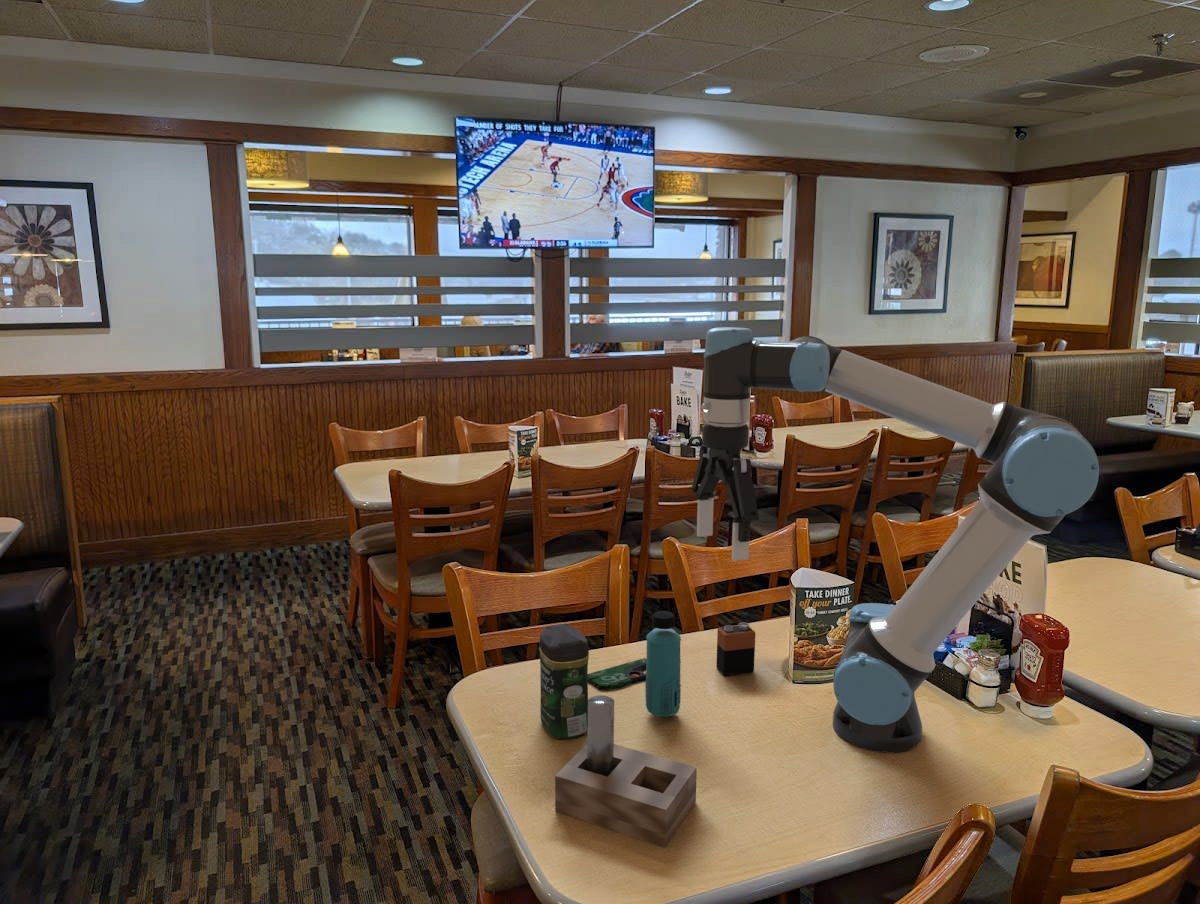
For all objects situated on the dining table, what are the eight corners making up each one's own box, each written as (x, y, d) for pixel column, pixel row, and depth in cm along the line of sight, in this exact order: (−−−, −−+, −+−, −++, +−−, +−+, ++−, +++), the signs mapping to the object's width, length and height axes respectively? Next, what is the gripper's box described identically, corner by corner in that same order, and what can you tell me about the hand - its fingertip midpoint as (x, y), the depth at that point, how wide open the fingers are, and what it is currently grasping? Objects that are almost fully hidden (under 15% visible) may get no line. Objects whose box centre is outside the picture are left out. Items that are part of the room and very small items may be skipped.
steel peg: (617, 782, 131) (618, 699, 129) (605, 795, 128) (607, 710, 125) (594, 775, 133) (595, 693, 130) (582, 788, 129) (583, 704, 127)
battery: (754, 673, 173) (756, 627, 171) (723, 677, 171) (725, 631, 169) (745, 664, 177) (747, 619, 175) (715, 667, 175) (717, 622, 173)
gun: (608, 693, 162) (582, 673, 170) (608, 700, 162) (582, 679, 171) (676, 673, 171) (647, 654, 179) (676, 679, 171) (647, 661, 179)
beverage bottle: (678, 726, 152) (680, 622, 148) (641, 722, 153) (643, 619, 149) (682, 708, 158) (684, 608, 154) (647, 705, 160) (648, 605, 156)
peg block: (695, 802, 130) (696, 767, 129) (665, 847, 119) (666, 809, 118) (592, 771, 138) (592, 738, 137) (555, 811, 128) (555, 775, 126)
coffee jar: (534, 718, 155) (533, 623, 151) (575, 710, 158) (575, 617, 154) (552, 745, 146) (551, 644, 142) (594, 736, 149) (594, 637, 145)
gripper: (675, 412, 149) (672, 528, 153) (740, 437, 125) (734, 573, 129) (713, 410, 151) (710, 525, 155) (784, 434, 127) (778, 568, 132)
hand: (721, 547), depth 142 cm, fingers open, 13 cm apart
